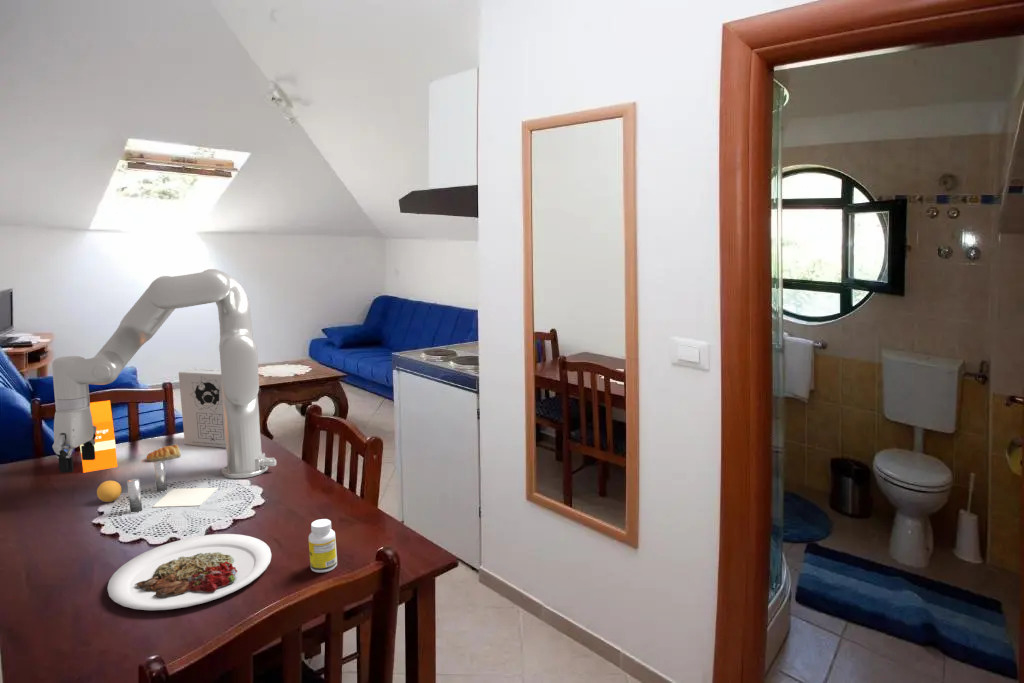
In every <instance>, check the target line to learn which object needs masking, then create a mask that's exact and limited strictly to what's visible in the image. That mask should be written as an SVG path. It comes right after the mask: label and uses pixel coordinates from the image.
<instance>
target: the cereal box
mask: <svg viewBox="0 0 1024 683" xmlns="http://www.w3.org/2000/svg"><path fill="white" fill-rule="evenodd" d="M178 380H179V382H178V383H179V393H180V403H181V404H180V405H181V417H182V428H183V429H182V430H183V440H184V445H185V446H186V445H188V446H199V447H211V448H223V449H226V439H225V426H224V413H223V401H222V391H221V368H210V367H209V368H208V367H192V368H189V369H186V370H184V369H183V370H182V371H181V370H180V371H179V372H178Z"/></svg>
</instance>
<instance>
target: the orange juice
mask: <svg viewBox="0 0 1024 683" xmlns="http://www.w3.org/2000/svg"><path fill="white" fill-rule="evenodd" d="M90 410H91V415H92V421H93V426H96V427H97V429H96V438H95V440H94V441H95V445H93V446H94V448H95V459H94V460H82V459H81V463H82V465H81V466H82V473H83V474H84V473H90V472H95V471H102V470H107V469H114V468H117V467H118V459H117V449H116V448H117V447H116V438H115V431H114V430H115V429H114V421H113V413H112V405H111V400H110V399H109V400H101V401H93V402H90ZM81 446H84V445H83V444H82V445H80V446H79V448H80V456H81V458H82V451H81Z"/></svg>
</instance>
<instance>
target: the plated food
mask: <svg viewBox="0 0 1024 683" xmlns="http://www.w3.org/2000/svg"><path fill="white" fill-rule="evenodd" d="M271 551H272V550H271V548H270V546H269V545H268V544H267V543H266V542H264V541H263V540H261V539H259V538H257V537H253V536H250V535H245V534H235V533H220V534H219V533H215V534H213V533H212V534H206V535H198V536H194V537H187V538H182V539H180V540H179V539H178V540H176V541H172V542H167V543H166V544H163V545H159V546H157V547H156V546H155V548H152V549H150V550H146V551H145V552H143V553H140V554H139V555H137V556H135V557H133V558H132V559H130V560H129V561H127V562H126V563H124V564H123V565H121V566H120V567H119V568H118V569H116V571H115V572H114V573H113V574H112V575H111V577H110V579H109V580H108V584H107V592H108V596H109V598H110V599H111V600H112V601H113V602H114V603H117V604H118V605H120V606H122V607H125V608H130V609H133V610H142V611H143V610H144V611H167V610H174V609H181V608H188V607H193V606H196V605H200V604H204V603H208V602H211V601H213V600H217V599H220V598H223V597H225V596H227V595H230V594H232V593H234V592H236V591H239V590H240V589H242V588H244V587H246V586H247V585H249V584H251V583H252V582H254V581H255V580H257V579H258V578H259V577H260V576H261V575H262V574H263V573H264V572H266V570H267V569H268V567H269V566H270V563H271V561H272V552H271Z"/></svg>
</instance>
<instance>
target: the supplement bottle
mask: <svg viewBox="0 0 1024 683" xmlns="http://www.w3.org/2000/svg"><path fill="white" fill-rule="evenodd" d="M310 528H311V529H310V531H311V532H310V533H309V535H308V549H309V550H308V553H309V566H310V569H311V571H312V572H315V573H321V574H322V573H327V572H330V571H332V570H334V569H335V568H336V567H337V566H338V554H337V542H336V540H337V539H336V532H335V530H333V529H332V520H330V519H328V518H321V519H316V520H314V521H312V522H311V525H310Z"/></svg>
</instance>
